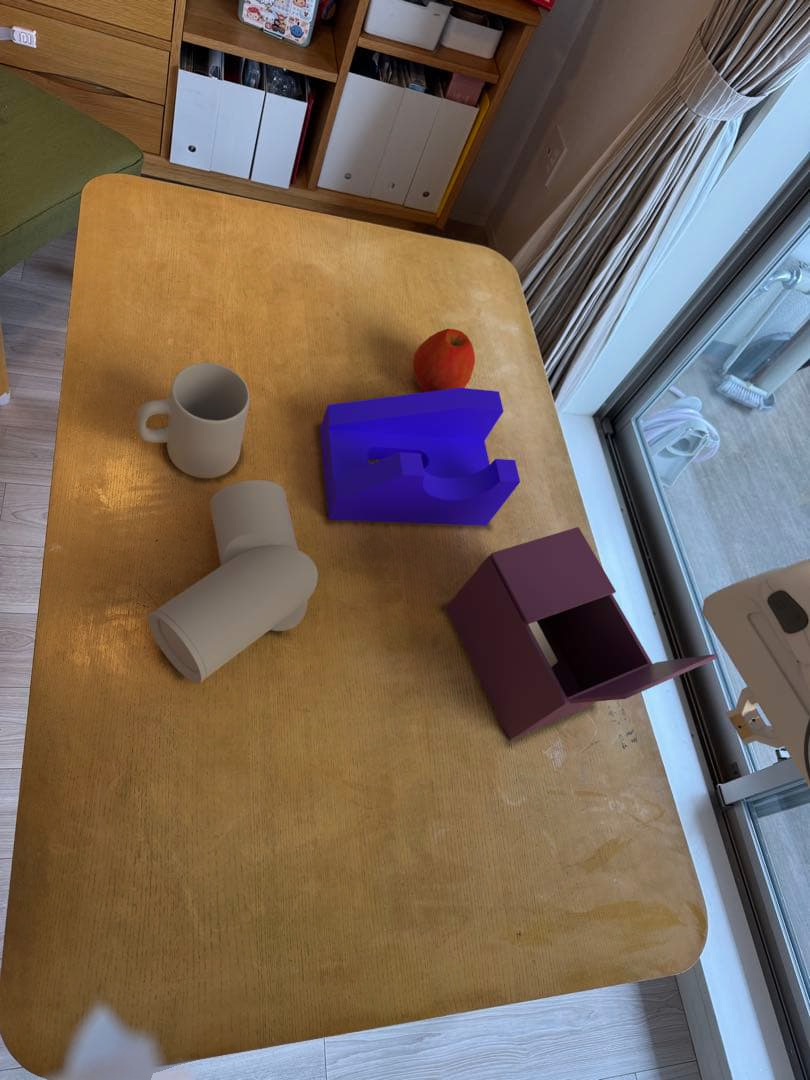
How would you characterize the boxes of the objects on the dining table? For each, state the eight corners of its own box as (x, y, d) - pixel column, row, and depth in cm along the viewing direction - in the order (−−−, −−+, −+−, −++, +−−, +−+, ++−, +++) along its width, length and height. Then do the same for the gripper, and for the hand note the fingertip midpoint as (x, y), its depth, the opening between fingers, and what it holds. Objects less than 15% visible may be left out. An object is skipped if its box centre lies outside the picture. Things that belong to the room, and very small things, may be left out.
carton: (590, 705, 92) (658, 663, 80) (509, 740, 87) (569, 701, 75) (524, 582, 98) (578, 525, 86) (444, 608, 92) (490, 552, 81)
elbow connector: (335, 667, 83) (298, 509, 92) (336, 634, 74) (294, 460, 82) (168, 706, 80) (145, 538, 88) (146, 676, 71) (122, 491, 79)
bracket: (469, 440, 107) (498, 391, 98) (486, 525, 100) (520, 482, 92) (319, 428, 100) (337, 375, 91) (328, 519, 94) (348, 471, 85)
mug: (231, 419, 97) (242, 360, 88) (246, 476, 93) (258, 420, 84) (131, 425, 92) (131, 363, 83) (142, 485, 88) (143, 427, 79)
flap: (656, 662, 80) (658, 665, 80) (568, 699, 75) (569, 703, 75) (717, 653, 73) (718, 657, 73) (624, 694, 67) (625, 699, 67)
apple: (394, 385, 108) (417, 331, 99) (424, 355, 112) (449, 301, 103) (441, 420, 107) (469, 368, 98) (470, 388, 112) (499, 336, 103)
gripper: (995, 797, 51) (837, 832, 63) (813, 536, 58) (701, 610, 70) (942, 836, 48) (787, 865, 60) (758, 557, 55) (650, 630, 67)
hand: (739, 726), depth 65 cm, fingers closed
